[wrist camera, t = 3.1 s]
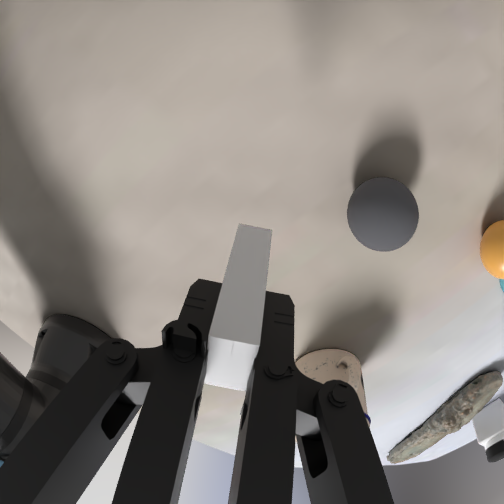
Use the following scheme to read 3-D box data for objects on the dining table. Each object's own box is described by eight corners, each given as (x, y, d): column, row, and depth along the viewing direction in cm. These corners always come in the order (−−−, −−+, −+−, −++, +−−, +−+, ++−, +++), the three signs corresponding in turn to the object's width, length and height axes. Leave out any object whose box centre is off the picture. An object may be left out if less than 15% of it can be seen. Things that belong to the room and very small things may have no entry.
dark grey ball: (333, 220, 26) (343, 258, 21) (352, 159, 23) (369, 186, 18) (391, 233, 26) (410, 272, 21) (413, 177, 23) (441, 207, 18)
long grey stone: (374, 450, 57) (409, 446, 58) (376, 470, 53) (412, 465, 54) (474, 368, 36) (509, 364, 37) (484, 397, 32) (520, 390, 32)
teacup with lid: (344, 390, 40) (350, 466, 30) (281, 382, 39) (277, 462, 30) (385, 335, 33) (405, 425, 23) (311, 323, 33) (315, 422, 23)
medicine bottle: (478, 421, 48) (489, 466, 38) (470, 414, 45) (482, 464, 36) (505, 404, 44) (519, 450, 34) (499, 397, 42) (515, 447, 32)
